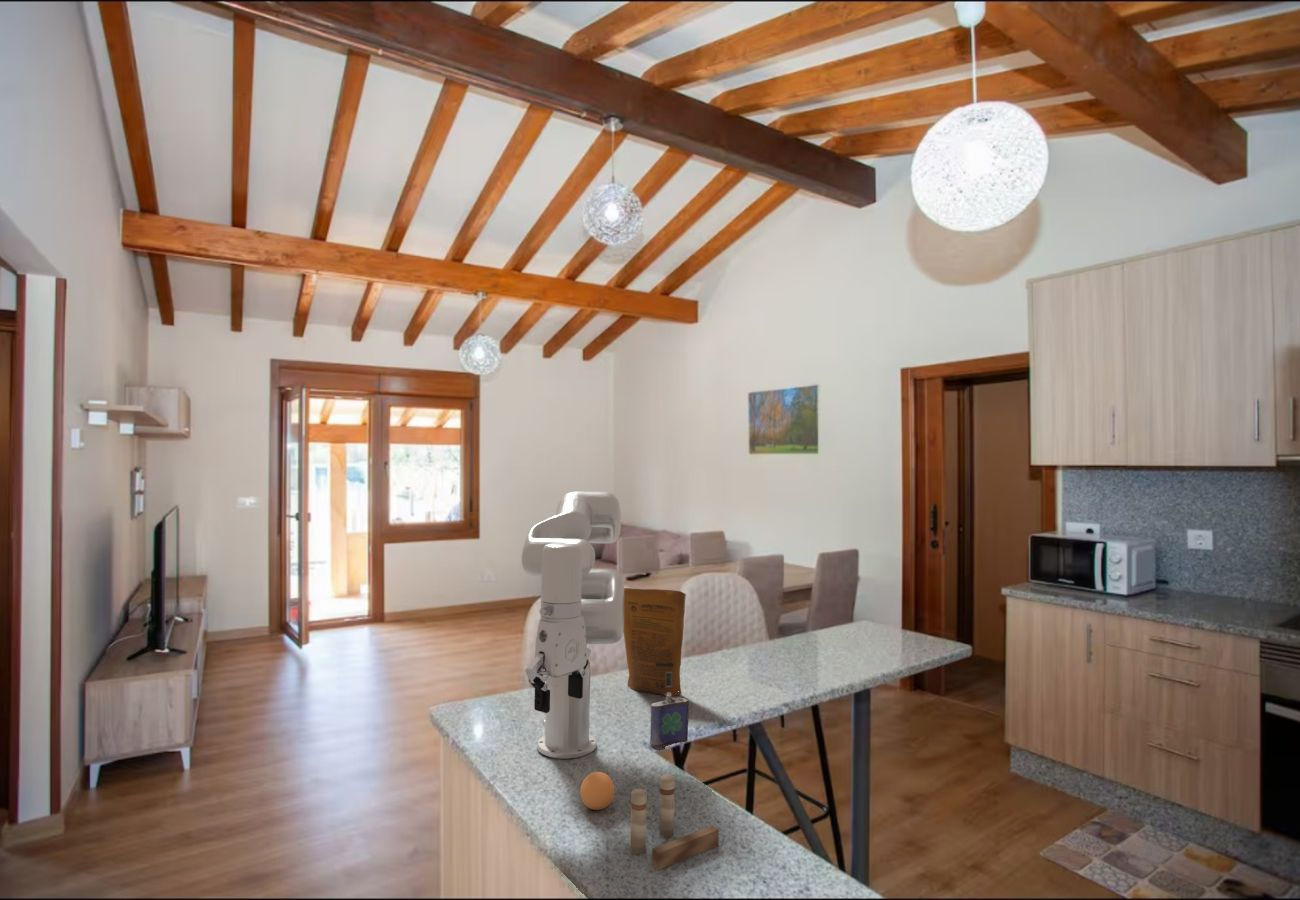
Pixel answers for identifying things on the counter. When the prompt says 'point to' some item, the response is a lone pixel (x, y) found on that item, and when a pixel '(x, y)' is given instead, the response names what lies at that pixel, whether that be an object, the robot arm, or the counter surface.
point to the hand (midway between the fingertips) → (559, 703)
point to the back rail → (684, 847)
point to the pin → (666, 806)
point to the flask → (669, 721)
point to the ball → (597, 790)
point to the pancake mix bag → (654, 639)
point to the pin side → (638, 821)
